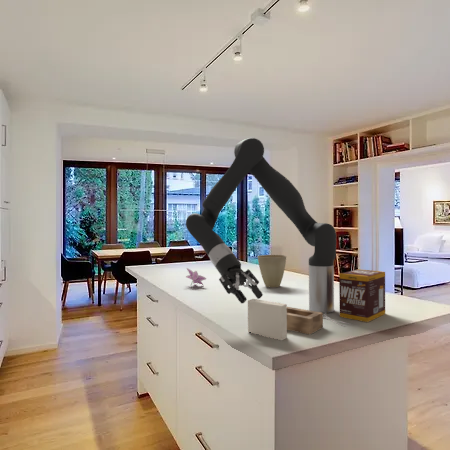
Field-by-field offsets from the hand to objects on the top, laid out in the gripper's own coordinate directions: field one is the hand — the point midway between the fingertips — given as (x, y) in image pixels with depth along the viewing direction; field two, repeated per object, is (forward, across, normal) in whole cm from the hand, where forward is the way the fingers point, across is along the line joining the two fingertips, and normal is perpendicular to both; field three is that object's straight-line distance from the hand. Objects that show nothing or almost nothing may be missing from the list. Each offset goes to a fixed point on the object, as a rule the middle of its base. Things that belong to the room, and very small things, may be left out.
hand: (252, 299), depth 112 cm
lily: (-41, +43, +56) cm, 82 cm away
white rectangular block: (+11, 0, +4) cm, 11 cm away
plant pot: (-19, +68, +33) cm, 78 cm away
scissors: (+16, +28, -1) cm, 32 cm away
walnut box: (+11, +13, +4) cm, 17 cm away
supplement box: (+21, +40, -7) cm, 46 cm away
